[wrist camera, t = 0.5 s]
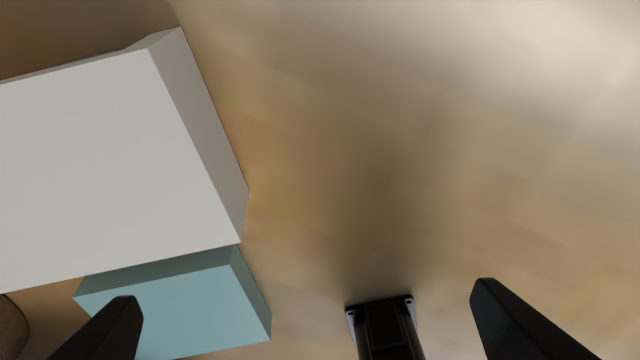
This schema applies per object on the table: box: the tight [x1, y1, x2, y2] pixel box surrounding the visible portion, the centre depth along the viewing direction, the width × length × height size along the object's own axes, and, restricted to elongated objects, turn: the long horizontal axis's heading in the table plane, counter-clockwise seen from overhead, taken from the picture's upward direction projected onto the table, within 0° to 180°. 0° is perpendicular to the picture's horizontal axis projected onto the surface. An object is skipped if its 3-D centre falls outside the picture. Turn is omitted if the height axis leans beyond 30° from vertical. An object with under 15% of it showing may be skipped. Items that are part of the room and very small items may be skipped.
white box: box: [0, 26, 250, 294], centre depth 19 cm, size 11×17×5 cm, turn 102°
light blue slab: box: [72, 244, 272, 360], centre depth 28 cm, size 10×12×2 cm
